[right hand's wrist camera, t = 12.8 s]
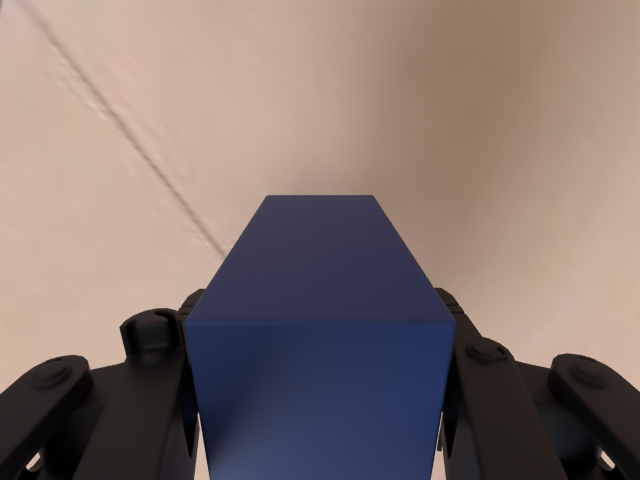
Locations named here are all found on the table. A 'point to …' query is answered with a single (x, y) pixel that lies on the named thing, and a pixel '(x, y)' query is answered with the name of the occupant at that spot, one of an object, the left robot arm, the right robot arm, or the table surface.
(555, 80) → the table surface
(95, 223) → the table surface
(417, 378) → the bar
